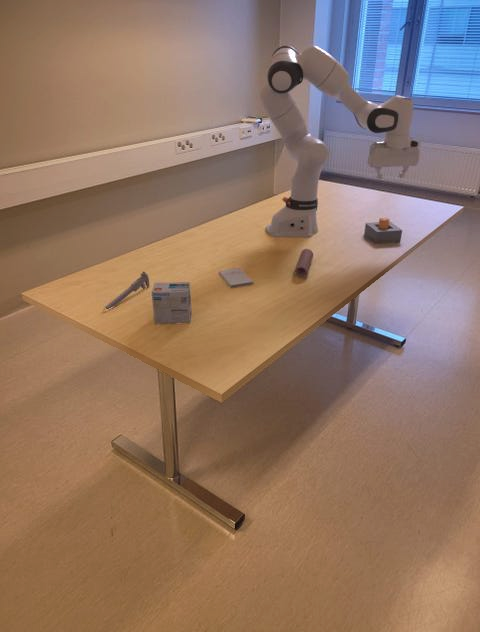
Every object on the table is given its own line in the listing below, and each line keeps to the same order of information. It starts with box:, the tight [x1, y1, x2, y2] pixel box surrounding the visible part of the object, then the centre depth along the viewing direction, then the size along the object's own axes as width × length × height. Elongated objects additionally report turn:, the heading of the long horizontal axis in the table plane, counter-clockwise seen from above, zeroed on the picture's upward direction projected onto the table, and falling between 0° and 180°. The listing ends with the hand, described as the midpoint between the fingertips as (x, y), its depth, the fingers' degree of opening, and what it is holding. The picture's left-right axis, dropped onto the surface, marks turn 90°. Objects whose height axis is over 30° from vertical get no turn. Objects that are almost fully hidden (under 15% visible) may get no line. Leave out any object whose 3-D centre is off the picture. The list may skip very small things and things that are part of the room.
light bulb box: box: [151, 281, 192, 324], centre depth 147 cm, size 11×7×11 cm, turn 92°
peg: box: [378, 217, 390, 229], centre depth 209 cm, size 4×4×8 cm
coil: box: [294, 248, 314, 279], centre depth 182 cm, size 5×5×18 cm
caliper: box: [104, 271, 150, 309], centre depth 159 cm, size 21×1×6 cm, turn 149°
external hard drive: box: [218, 267, 254, 289], centre depth 175 cm, size 2×8×12 cm
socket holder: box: [364, 220, 403, 245], centre depth 209 cm, size 11×11×5 cm
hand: (390, 177), depth 200 cm, fingers open, 8 cm apart
